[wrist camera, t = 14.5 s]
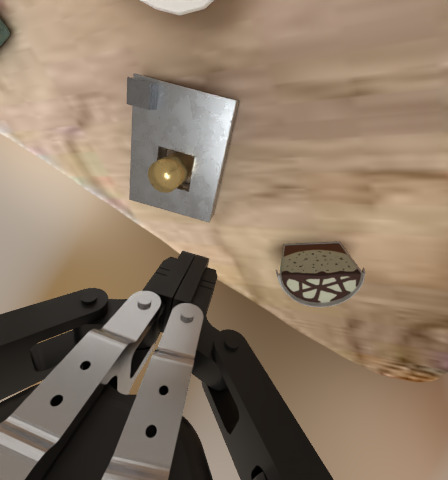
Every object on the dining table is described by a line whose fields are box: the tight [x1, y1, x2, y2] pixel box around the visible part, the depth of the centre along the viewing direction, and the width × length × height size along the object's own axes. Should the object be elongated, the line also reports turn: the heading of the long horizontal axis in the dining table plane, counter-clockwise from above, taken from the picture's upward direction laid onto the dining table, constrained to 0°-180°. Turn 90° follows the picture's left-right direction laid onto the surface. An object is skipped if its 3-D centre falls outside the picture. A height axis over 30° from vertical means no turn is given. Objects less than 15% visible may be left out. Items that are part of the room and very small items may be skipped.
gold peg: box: [148, 152, 194, 193], centre depth 37 cm, size 4×4×8 cm
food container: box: [276, 242, 365, 307], centre depth 40 cm, size 12×6×10 cm, turn 98°
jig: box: [127, 74, 239, 222], centre depth 37 cm, size 18×14×6 cm
